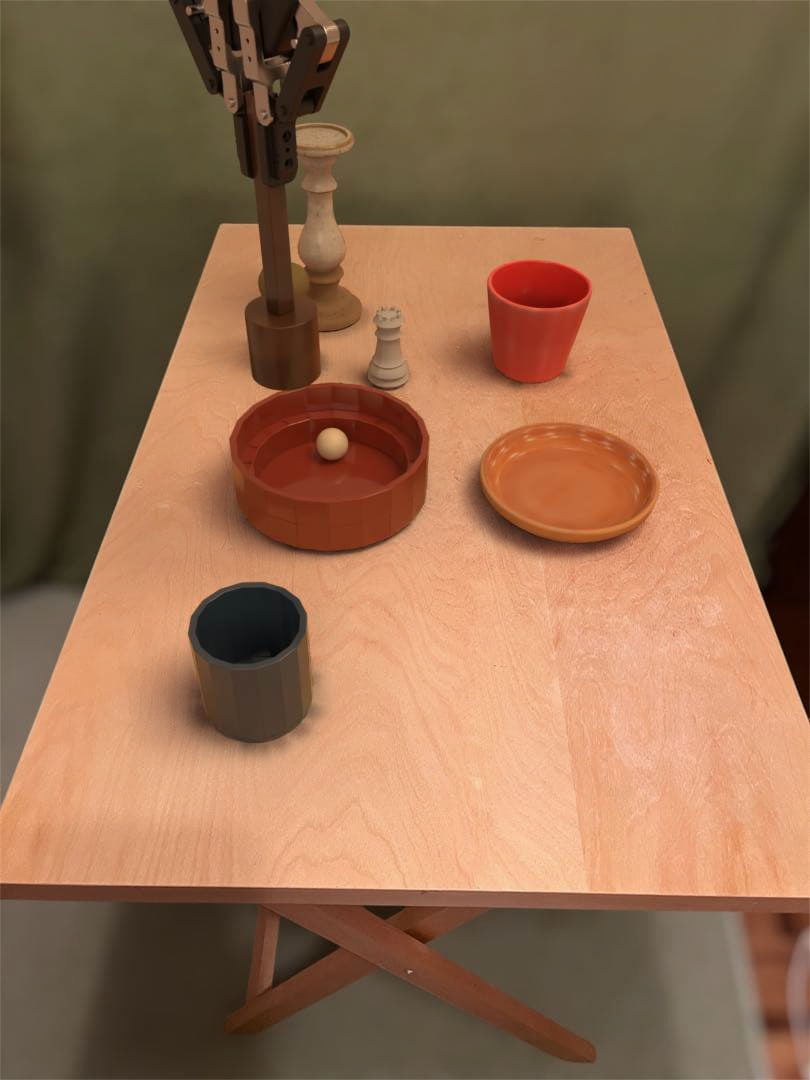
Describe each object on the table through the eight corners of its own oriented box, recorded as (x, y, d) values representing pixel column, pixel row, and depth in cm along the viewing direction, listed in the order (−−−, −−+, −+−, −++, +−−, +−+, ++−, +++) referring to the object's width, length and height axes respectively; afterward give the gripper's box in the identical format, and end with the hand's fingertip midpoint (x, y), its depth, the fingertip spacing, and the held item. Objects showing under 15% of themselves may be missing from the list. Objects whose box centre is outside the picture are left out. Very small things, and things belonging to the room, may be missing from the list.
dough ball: (332, 470, 85) (331, 444, 83) (310, 457, 86) (308, 431, 84) (355, 456, 86) (354, 430, 84) (333, 443, 88) (331, 417, 86)
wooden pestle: (283, 399, 64) (255, 112, 51) (237, 371, 66) (200, 92, 53) (335, 371, 66) (322, 92, 53) (289, 345, 69) (266, 73, 56)
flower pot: (597, 379, 98) (613, 297, 91) (506, 400, 95) (516, 315, 88) (549, 332, 105) (561, 252, 98) (463, 349, 102) (469, 268, 95)
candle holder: (271, 316, 106) (256, 136, 93) (319, 288, 112) (311, 113, 98) (329, 340, 103) (322, 156, 89) (376, 310, 108) (377, 132, 94)
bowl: (329, 585, 75) (327, 531, 70) (198, 491, 83) (188, 438, 79) (464, 489, 84) (469, 436, 80) (334, 413, 92) (332, 362, 88)
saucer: (518, 427, 91) (521, 402, 89) (674, 477, 86) (682, 452, 84) (447, 519, 81) (449, 493, 79) (620, 583, 76) (626, 557, 73)
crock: (252, 762, 62) (240, 689, 57) (181, 699, 66) (164, 625, 60) (334, 695, 66) (331, 622, 61) (264, 639, 70) (254, 565, 65)
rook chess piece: (394, 395, 95) (395, 327, 89) (359, 382, 97) (357, 314, 91) (416, 375, 98) (419, 308, 92) (381, 363, 99) (381, 296, 94)
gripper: (93, -182, 46) (153, 165, 58) (269, -156, 39) (297, 231, 51) (212, -191, 50) (246, 135, 62) (390, -169, 43) (390, 193, 55)
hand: (269, 177), depth 56 cm, fingers closed on wooden pestle, 1 cm apart
